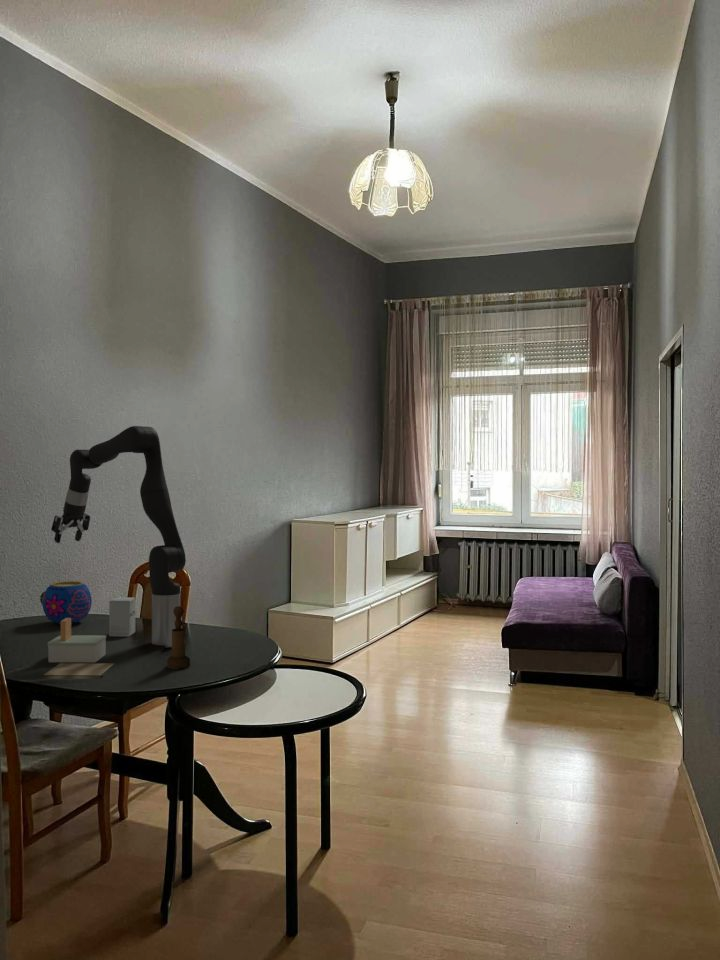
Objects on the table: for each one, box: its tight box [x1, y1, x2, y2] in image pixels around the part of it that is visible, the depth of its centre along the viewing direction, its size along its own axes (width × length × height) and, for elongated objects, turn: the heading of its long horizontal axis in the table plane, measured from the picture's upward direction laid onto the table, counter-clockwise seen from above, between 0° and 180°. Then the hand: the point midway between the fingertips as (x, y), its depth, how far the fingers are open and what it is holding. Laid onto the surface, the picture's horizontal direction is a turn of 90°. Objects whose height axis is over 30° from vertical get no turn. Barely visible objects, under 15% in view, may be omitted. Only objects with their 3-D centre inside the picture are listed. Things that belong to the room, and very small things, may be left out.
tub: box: [47, 638, 107, 663], centre depth 248 cm, size 14×10×6 cm
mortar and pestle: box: [166, 605, 191, 670], centre depth 242 cm, size 7×6×18 cm
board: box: [43, 662, 114, 680], centre depth 235 cm, size 16×13×1 cm
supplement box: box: [108, 596, 136, 638], centre depth 286 cm, size 7×7×13 cm
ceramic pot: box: [39, 580, 93, 625], centre depth 305 cm, size 18×18×15 cm
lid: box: [47, 618, 107, 647], centre depth 248 cm, size 14×10×7 cm
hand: (67, 541), depth 303 cm, fingers open, 8 cm apart
